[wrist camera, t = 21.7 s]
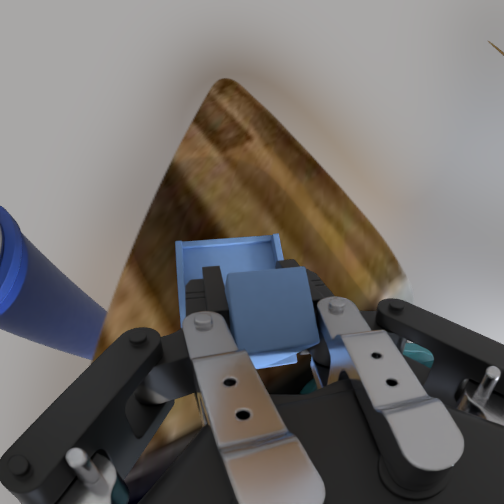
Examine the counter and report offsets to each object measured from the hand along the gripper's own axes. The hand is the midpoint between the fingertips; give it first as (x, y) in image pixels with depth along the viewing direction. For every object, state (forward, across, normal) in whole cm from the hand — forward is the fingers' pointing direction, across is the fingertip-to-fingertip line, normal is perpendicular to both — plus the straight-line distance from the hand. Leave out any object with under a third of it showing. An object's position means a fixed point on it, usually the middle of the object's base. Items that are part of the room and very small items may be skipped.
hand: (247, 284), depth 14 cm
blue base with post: (+6, 0, +4) cm, 7 cm away
